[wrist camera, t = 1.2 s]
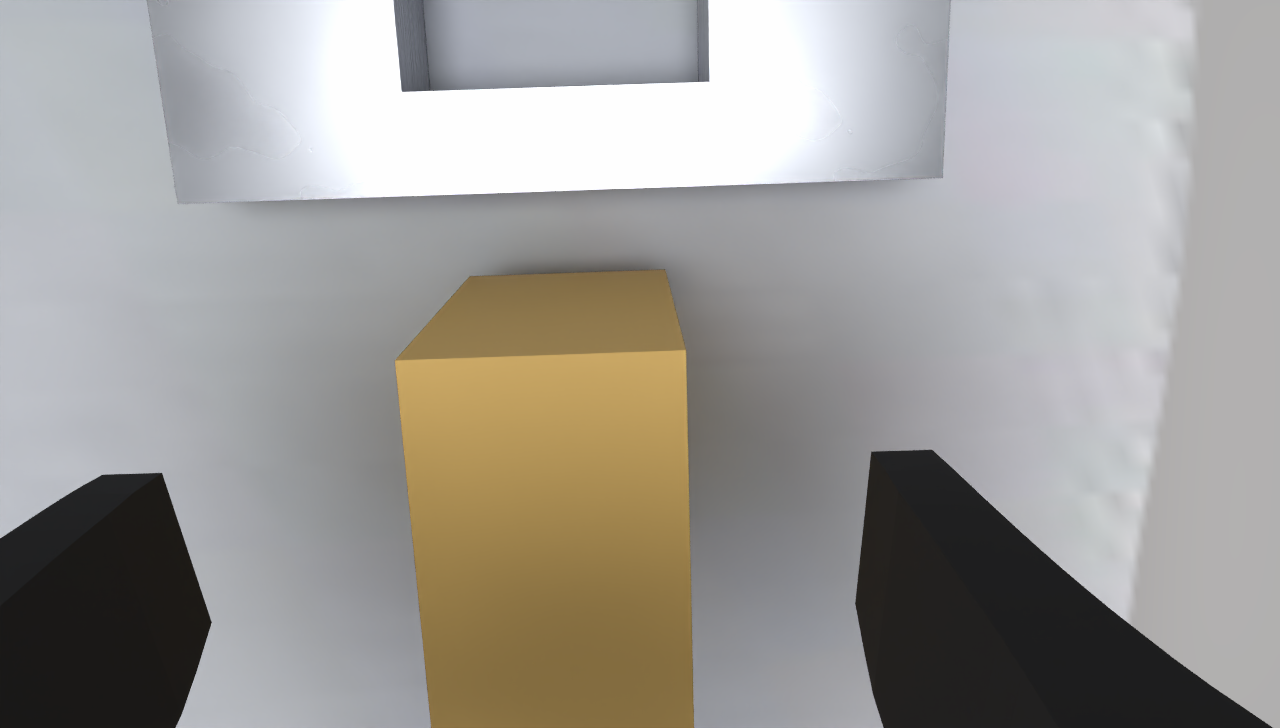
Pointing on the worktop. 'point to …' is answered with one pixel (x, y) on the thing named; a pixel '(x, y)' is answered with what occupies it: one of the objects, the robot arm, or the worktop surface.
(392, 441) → the worktop surface
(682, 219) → the worktop surface
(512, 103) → the recessed gray tray
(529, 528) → the tan rectangular block
